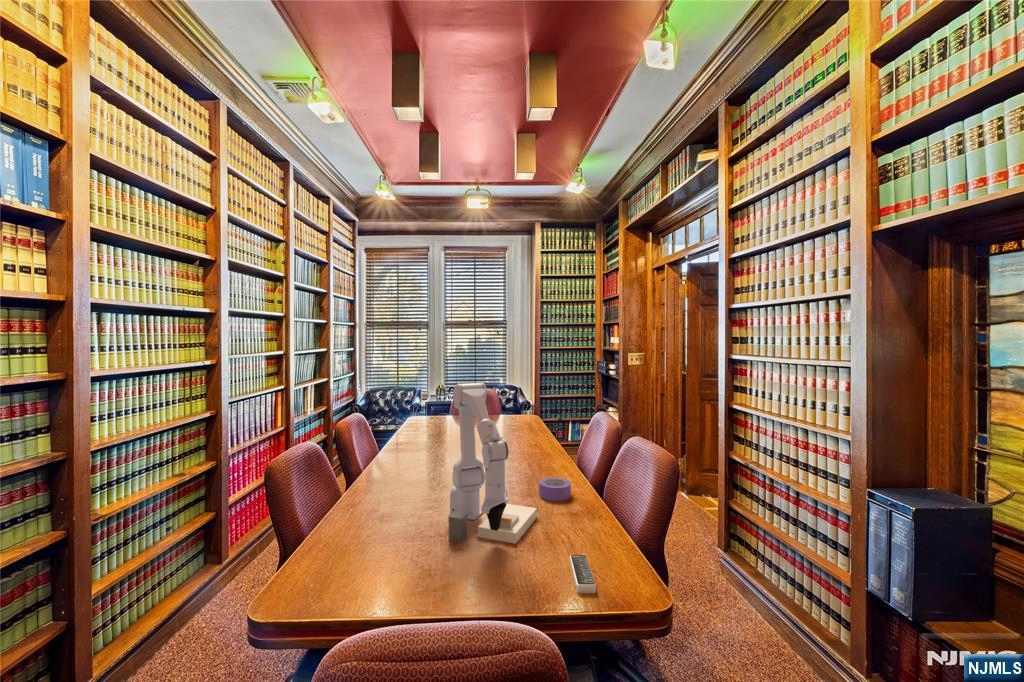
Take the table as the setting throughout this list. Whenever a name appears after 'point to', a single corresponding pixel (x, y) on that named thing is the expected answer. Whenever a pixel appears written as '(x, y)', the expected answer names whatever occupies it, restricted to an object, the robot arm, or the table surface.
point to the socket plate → (517, 530)
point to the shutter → (508, 520)
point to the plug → (458, 527)
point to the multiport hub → (582, 574)
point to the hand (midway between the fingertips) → (494, 529)
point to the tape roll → (554, 489)
